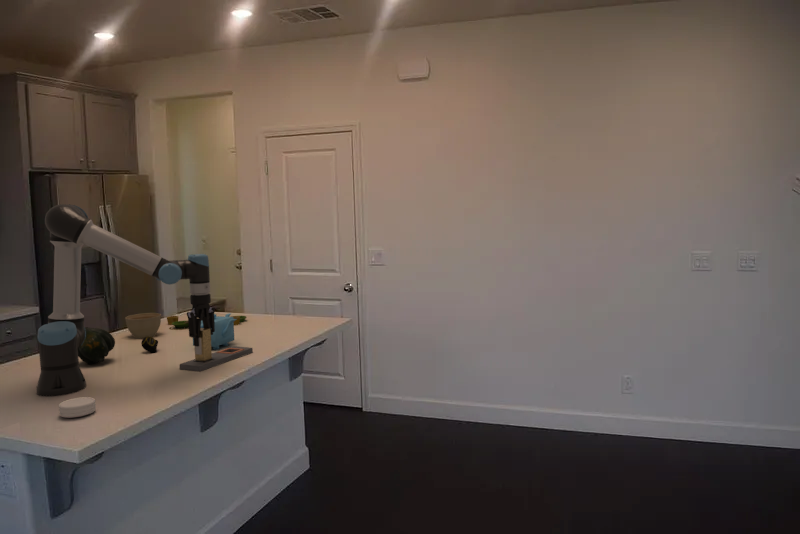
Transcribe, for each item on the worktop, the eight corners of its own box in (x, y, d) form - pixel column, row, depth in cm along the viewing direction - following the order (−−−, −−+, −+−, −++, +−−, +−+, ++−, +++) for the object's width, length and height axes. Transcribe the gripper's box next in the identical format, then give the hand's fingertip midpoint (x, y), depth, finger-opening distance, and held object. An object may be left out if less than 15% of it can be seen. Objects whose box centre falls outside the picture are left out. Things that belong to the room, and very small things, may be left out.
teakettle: (196, 353, 260) (194, 319, 258) (190, 345, 277) (188, 313, 275) (240, 348, 268) (239, 315, 267) (232, 340, 285) (230, 309, 284)
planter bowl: (123, 337, 298) (121, 315, 297) (157, 333, 308) (155, 311, 307) (131, 342, 285) (129, 320, 284) (166, 337, 295) (165, 315, 294)
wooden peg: (204, 361, 236) (202, 330, 235) (195, 360, 237) (193, 329, 236) (211, 358, 240) (210, 328, 239) (203, 357, 241) (201, 327, 240)
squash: (75, 369, 238) (72, 331, 236) (79, 361, 251) (76, 325, 250) (114, 365, 243) (112, 328, 242) (117, 357, 257) (114, 322, 255)
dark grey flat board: (200, 371, 230) (199, 365, 229) (179, 369, 234) (179, 363, 233) (252, 352, 259) (252, 347, 258) (233, 350, 263) (233, 345, 262)
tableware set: (156, 333, 311) (155, 321, 310) (175, 323, 338) (174, 312, 338) (236, 330, 311) (236, 318, 310) (249, 321, 339) (248, 309, 338)
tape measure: (152, 355, 263) (157, 350, 262) (138, 348, 260) (143, 342, 259) (155, 346, 269) (160, 340, 268) (141, 338, 265) (146, 333, 264)
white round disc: (58, 411, 187) (57, 400, 186) (94, 405, 192) (93, 394, 192) (60, 420, 178) (59, 408, 178) (97, 413, 184) (96, 402, 183)
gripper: (191, 297, 227) (194, 358, 229) (222, 291, 243) (225, 348, 245) (176, 296, 230) (179, 356, 232) (208, 290, 246) (210, 347, 248)
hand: (203, 352), depth 238 cm, fingers closed on wooden peg, 4 cm apart
